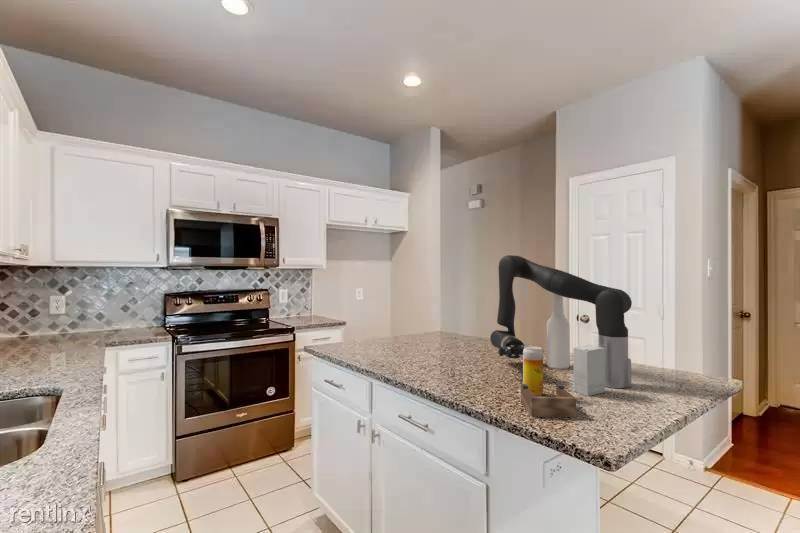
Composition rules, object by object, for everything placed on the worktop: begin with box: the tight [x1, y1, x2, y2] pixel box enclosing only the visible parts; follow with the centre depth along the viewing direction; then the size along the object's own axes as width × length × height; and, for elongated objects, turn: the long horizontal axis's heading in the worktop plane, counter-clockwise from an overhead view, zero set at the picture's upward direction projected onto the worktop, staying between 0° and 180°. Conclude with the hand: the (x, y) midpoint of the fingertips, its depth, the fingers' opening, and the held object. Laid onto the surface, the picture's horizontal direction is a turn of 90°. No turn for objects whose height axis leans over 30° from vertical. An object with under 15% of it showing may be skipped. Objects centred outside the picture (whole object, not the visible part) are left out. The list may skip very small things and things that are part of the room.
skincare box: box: [573, 344, 606, 397], centre depth 134 cm, size 8×6×15 cm
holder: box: [520, 383, 577, 418], centre depth 118 cm, size 12×12×6 cm
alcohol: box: [546, 293, 571, 370], centre depth 169 cm, size 9×9×30 cm
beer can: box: [522, 345, 544, 397], centre depth 132 cm, size 6×6×15 cm
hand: (523, 355), depth 143 cm, fingers open, 8 cm apart
